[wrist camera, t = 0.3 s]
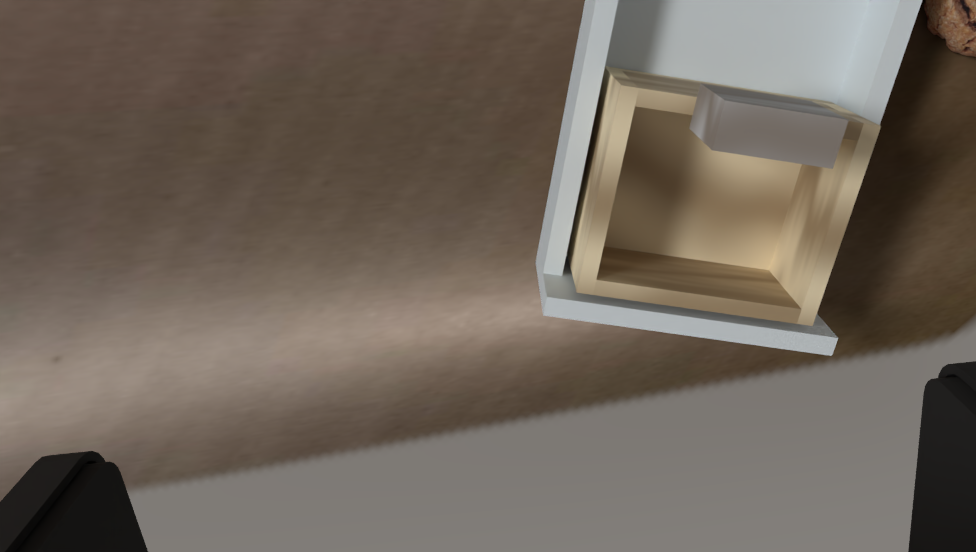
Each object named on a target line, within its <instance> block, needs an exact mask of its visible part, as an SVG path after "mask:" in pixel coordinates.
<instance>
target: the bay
mask: <svg viewBox="0 0 976 552" xmlns="http://www.w3.org/2000/svg"><path fill="white" fill-rule="evenodd" d="M921 3H922V0H585V4H584V10H583V15H582V20H581V25H580V31H579V36H578V41H577V47H576V52H575V57H574V62H573V68H572V73H571V78H570V83H569V89H568V94H567V99H566V105H565V110H564V115H563V120H562V126H561V131H560V136H559V142H558V147H557V152H556V157H555V163H554V168H553V173H552V179H551V184H550V189H549V194H548V200H547V205H546V210H545V215H544V221H543V226H542V231H541V237H540V242H539V247H538V252H537V258H536V268H537V275H538V282H539V290H540V297H541V304H542V311H543V315H544V316H551V317H558V318H565V319H573V320H580V321H587V322H594V323H601V324H608V325H615V326H623V327H630V328H637V329H644V330H651V331H658V332H665V333H673V334H680V335H687V336H694V337H701V338H708V339H716V340H723V341H730V342H737V343H744V344H751V345H758V346H766V347H773V348H780V349H787V350H794V351H801V352H809V353H816V354H823V355H830V356H832V354H833V351H834V348H835V346H836V343H837V340H838V337H837V336H836V335H835V334H834V333H833V331H832V330H831V329H830V328H829V327H828V326H827V325H826V323H825V322H824V321H823V320H822V319H821V318H820V317H819V315H818V314H817V315H816V317H815V320H814V323H813V326H809V325H802V324H795V323H787V322H780V321H773V320H766V319H759V318H752V317H745V316H738V315H731V314H724V313H717V312H710V311H703V310H696V309H689V308H682V307H675V306H668V305H661V304H653V303H646V302H639V301H632V300H625V299H618V298H611V297H604V296H597V295H590V294H583V293H577V292H576V288H575V284H574V280H573V276H572V271H571V267H570V263H569V259H568V255H567V249H568V244H569V239H570V235H571V230H572V225H573V220H574V215H575V210H576V205H577V200H578V195H579V191H580V186H581V181H582V176H583V171H584V166H585V161H586V156H587V151H588V146H589V142H590V137H591V132H592V127H593V122H594V117H595V112H596V107H597V102H598V98H599V93H600V88H601V83H602V78H603V73H604V68H605V66H608V67H614V68H620V69H627V70H633V71H639V72H646V73H652V74H658V75H665V76H671V77H677V78H684V79H690V80H696V81H703V82H709V83H715V84H722V85H728V86H734V87H741V88H747V89H753V90H760V91H766V92H772V93H779V94H785V95H791V96H797V97H804V98H810V99H816V100H823V101H829V102H832V103H834V104H836V105H838V106H840V107H842V108H845V109H847V110H849V111H851V112H853V113H855V114H857V115H859V116H861V117H863V118H865V119H867V120H870V121H872V122H874V123H876V124H878V125H880V123H881V120H882V117H883V114H884V111H885V108H886V105H887V102H888V99H889V96H890V93H891V90H892V88H893V85H894V82H895V79H896V76H897V73H898V70H899V67H900V64H901V61H902V58H903V55H904V52H905V50H906V47H907V44H908V41H909V38H910V35H911V32H912V29H913V26H914V23H915V20H916V17H917V15H918V12H919V9H920V6H921Z"/></svg>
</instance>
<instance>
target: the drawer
mask: <svg viewBox="0 0 976 552" xmlns="http://www.w3.org/2000/svg"><path fill="white" fill-rule="evenodd" d="M880 128H881V126H880V125H878V124H876V123H874V122H872V121H870V120H867V119H865V118H863V117H861V116H859V115H857V114H855V113H853V112H851V111H849V110H847V109H845V108H842V107H840V106H838V105H836V104H834V103H832V102H829V101H823V100H816V99H810V98H804V97H797V96H791V95H785V94H779V93H772V92H766V91H760V90H753V89H747V88H741V87H734V86H728V85H722V84H715V83H709V82H703V81H696V80H690V79H684V78H677V77H671V76H665V75H658V74H652V73H646V72H639V71H633V70H627V69H620V68H614V67H608V66H605V68H604V73H603V78H602V83H601V88H600V93H599V98H598V102H597V107H596V112H595V117H594V122H593V127H592V132H591V137H590V142H589V146H588V151H587V156H586V161H585V166H584V171H583V176H582V181H581V186H580V191H579V195H578V200H577V205H576V210H575V215H574V220H573V225H572V230H571V235H570V239H569V244H568V249H567V255H568V259H569V263H570V267H571V271H572V276H573V280H574V284H575V288H576V292H577V293H583V294H590V295H597V296H604V297H611V298H618V299H625V300H632V301H639V302H646V303H653V304H661V305H668V306H675V307H682V308H689V309H696V310H703V311H710V312H717V313H724V314H731V315H738V316H745V317H752V318H759V319H766V320H773V321H780V322H787V323H795V324H802V325H809V326H813V323H814V320H815V317H816V315H817V312H818V309H819V306H820V303H821V300H822V297H823V294H824V291H825V288H826V285H827V283H828V280H829V277H830V274H831V271H832V268H833V265H834V262H835V259H836V256H837V253H838V250H839V248H840V245H841V242H842V239H843V236H844V233H845V230H846V227H847V224H848V221H849V218H850V216H851V213H852V210H853V207H854V204H855V201H856V198H857V195H858V192H859V189H860V186H861V184H862V181H863V178H864V175H865V172H866V169H867V166H868V163H869V160H870V157H871V154H872V152H873V149H874V146H875V143H876V140H877V137H878V134H879V131H880Z"/></svg>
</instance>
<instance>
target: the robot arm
mask: <svg viewBox="0 0 976 552" xmlns="http://www.w3.org/2000/svg"><path fill="white" fill-rule="evenodd" d="M0 552H148V551H147V548H146V545H145V542H144V539H143V536H142V534H141V530H140V528H139V525H138V522H137V519H136V516H135V514H134V510H133V507H132V504H131V502H130V499H129V496H128V493H127V490H126V487H125V484H124V481H123V479H122V476H121V473H120V471H119V469H118V467H117V466H116V465H115V464H114V463H112V462H105V460H104V458H103V457H102V456H101V455H100V454H99V453H97V452H94V451H88V452H78V453H69V454H59V455H49V456H44V457H41V458H40V459H39V460H38V461H36V462H35V463H34V465H33V466H32V467H31V468H30V469H29V470H28V471H27V472H26V474H25V475H24V476H23V477H22V478H21V479H20V480H19V481H18V483H17V484H16V485H15V486H14V487H13V488H12V489H11V491H10V492H9V493H8V494H7V495H6V496H5V497H4V498H3V500H2V501H1V502H0ZM909 552H976V362H966V363H956V364H948V365H946V366H945V367H943V368H942V370H941V372H940V373H939V376H938V378H936V379H931V380H929V381H928V382H927V384H926V386H925V390H924V396H923V407H922V418H921V427H920V438H919V448H918V459H917V469H916V479H915V490H914V500H913V510H912V520H911V531H910V541H909Z"/></svg>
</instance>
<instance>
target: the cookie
mask: <svg viewBox="0 0 976 552" xmlns="http://www.w3.org/2000/svg"><path fill="white" fill-rule="evenodd" d="M924 9H925V12H926V15H927V18H928V21H927V29H928V30H929V31H930V32H931V33H932V34H934V35H938V36H939V37H941V38H942V39H946V46H948V48H949V49H950V50H951V51H953V52H956V53H960V54H962V55H965V56H973V57H976V0H926V1H925V3H924Z"/></svg>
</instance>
